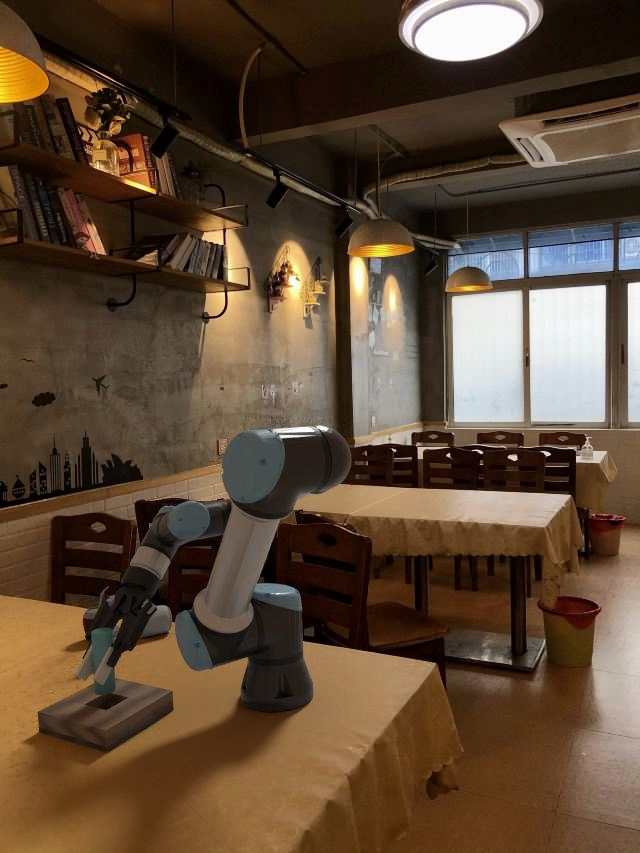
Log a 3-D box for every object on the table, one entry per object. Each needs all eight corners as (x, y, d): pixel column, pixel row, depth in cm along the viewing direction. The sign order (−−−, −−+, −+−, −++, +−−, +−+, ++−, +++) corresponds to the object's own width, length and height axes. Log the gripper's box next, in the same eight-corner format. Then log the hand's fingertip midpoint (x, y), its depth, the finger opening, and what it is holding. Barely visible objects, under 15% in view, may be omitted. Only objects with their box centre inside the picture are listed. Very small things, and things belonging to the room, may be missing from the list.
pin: (120, 688, 138) (116, 629, 137) (105, 696, 135) (101, 636, 134) (105, 684, 140) (102, 626, 139) (90, 692, 137) (86, 633, 136)
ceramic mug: (174, 634, 185) (172, 605, 185) (144, 641, 181) (142, 612, 181) (161, 624, 194) (159, 597, 194) (132, 630, 190) (130, 603, 190)
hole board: (173, 709, 141) (172, 690, 140) (107, 752, 125) (105, 730, 125) (108, 694, 149) (107, 676, 149) (38, 732, 134) (37, 711, 133)
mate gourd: (87, 635, 187) (84, 580, 186) (117, 633, 188) (114, 578, 187) (80, 645, 180) (77, 588, 179) (112, 643, 181) (108, 586, 180)
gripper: (185, 586, 146) (132, 695, 132) (125, 578, 154) (69, 680, 140) (166, 568, 141) (110, 679, 127) (105, 560, 149) (46, 664, 135)
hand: (89, 679), depth 134 cm, fingers closed on pin, 4 cm apart
